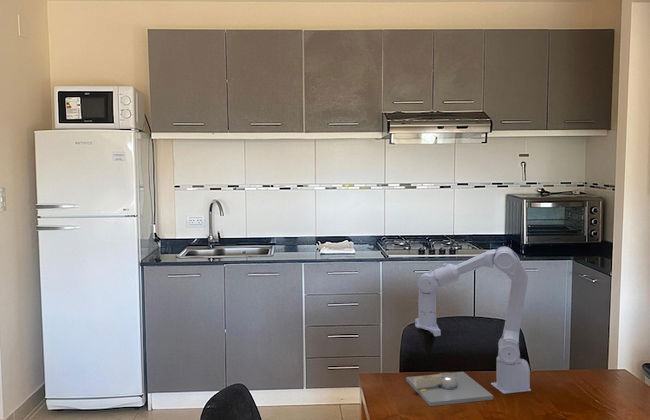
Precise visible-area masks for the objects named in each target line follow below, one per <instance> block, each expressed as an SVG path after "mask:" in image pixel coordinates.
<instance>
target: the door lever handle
mask: <svg viewBox="0 0 650 420" xmlns="http://www.w3.org/2000/svg"><path fill="white" fill-rule="evenodd" d="M452 373H453V372H440V373H435V374H436V375H434V374H427V375H428V376H423V375H419V376H420V377H414V386H416V387H423V386H430V385H438V386H439V387H440V388H443V389H456V388H457V387H458V376H457V375H455V374H452Z"/></svg>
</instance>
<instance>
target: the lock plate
mask: <svg viewBox="0 0 650 420" xmlns="http://www.w3.org/2000/svg"><path fill="white" fill-rule="evenodd" d="M451 373H452V374H455V375H457V376H458V387H457V388H456V389H443V388H440V387H439V386H438V385H430V386H423V387H416V386H414V377H420V376H421V375H415V376H406V377H405V380H406V382H407V384H409V385H410V387H411V388H412V389H413V390H414V391H415V392H416V393H417V394H418V395H419V396H420V397H421V399H422V400H423V401H424V402H425V403H426V404H427V405H428V406H429V407H435V406H447V405H455V404H464V403H472V402H473V403H474V402H482V401H483V402H485V401H491V400H494V395H493V394H492V393H491V392H490V391H488V390H487V389H486V388H484V387H483V386H482V385H481V384H479V383H478V382H477V381H476V380H475V379H473V378H472V377H470V376H469V375H468V374H467V373H465V372H464V371H456V372H451ZM436 374H437V373H435V374H433V375H436ZM428 375H429V374H425V375H422V376H428Z"/></svg>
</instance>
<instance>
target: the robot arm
mask: <svg viewBox="0 0 650 420" xmlns="http://www.w3.org/2000/svg"><path fill="white" fill-rule="evenodd" d="M494 266H495V267H496V268H497V269H498V270H500V271H501V272H503V273H505V275H506V276H507V277H508V278H509V279H510V280H511V282H510V287H509V288H510V289H509V296H508V300H507V307H506V308H507V309H506V314H505V320H504V326H503V329H502V330H503V331H502V334H501V337H500V338H499V339H498V343H497V345H498V346H497V347H498V350H497V351H498V353H497V356H496V381H494V382H490V385H491V386H493V387H494V388H495V389H497V390H498V391H499V392H500V393H501V394H504V395H506V394H513V393H524V392H531V391H532V389H531V387H530V386H531V384H530V383H531V381H530V376H531V375H530V374H531V372H530V365H529V363H528V361H527V360H526V359H524V358H521V353H520V344H519V343H520V331H521V324H522V319H523V313H524V305H525V299H526V294H527V288H528V287H527V286H528V283H529V282H528V280H529V276H528V273H527V271H526V269H525V267H524V265H523V263H522V261H521V259H520V257H519V256H518V254H517V253H516V252H515V251H514V250H513V249H511V248H510V247H508V246H505V245H504V246H499V247H498V248H494V249H490V250H487V251H485V252H483V253H482V252H481V253H479V254H478V255H476V256H474V257H471V258H469V259H467V260H465V261H463V262H461V263H459V264H452V263H446V262H445V263H443V264H442V266H440V267H438V268H436V269H434V270H433V269H430V270H429V271H428V272H424V273H422V274H421V276H420V277H419V278H418V279H417V284H416V286H417V288H418V296H417V297H418V300H417V305H418V307H417V309H418V314H417V315H418V316H417V318H415V319H414V327H416V328H418V329H417V330H416V332H417V334H418V336H419V339H420V342H421V345H422V346H421V347H422V350H423V352H424V353H431V352H432V350H433V347H434V343H435V340H436V338H437V337H440V336H442V335H441V332H442V331H441V330H442V329H440V328H439V325H438V324H437V296H436V294H437V293H436V292H437V289H436V288H442V287H444V286H447V285H449V284H452V283H454V282H457V281H458V280H459V278H460V275H463V274H466V273H469V272H471V271H475V270H477V269H480V268H482V267H486V268H490V269H493V268H494Z"/></svg>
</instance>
